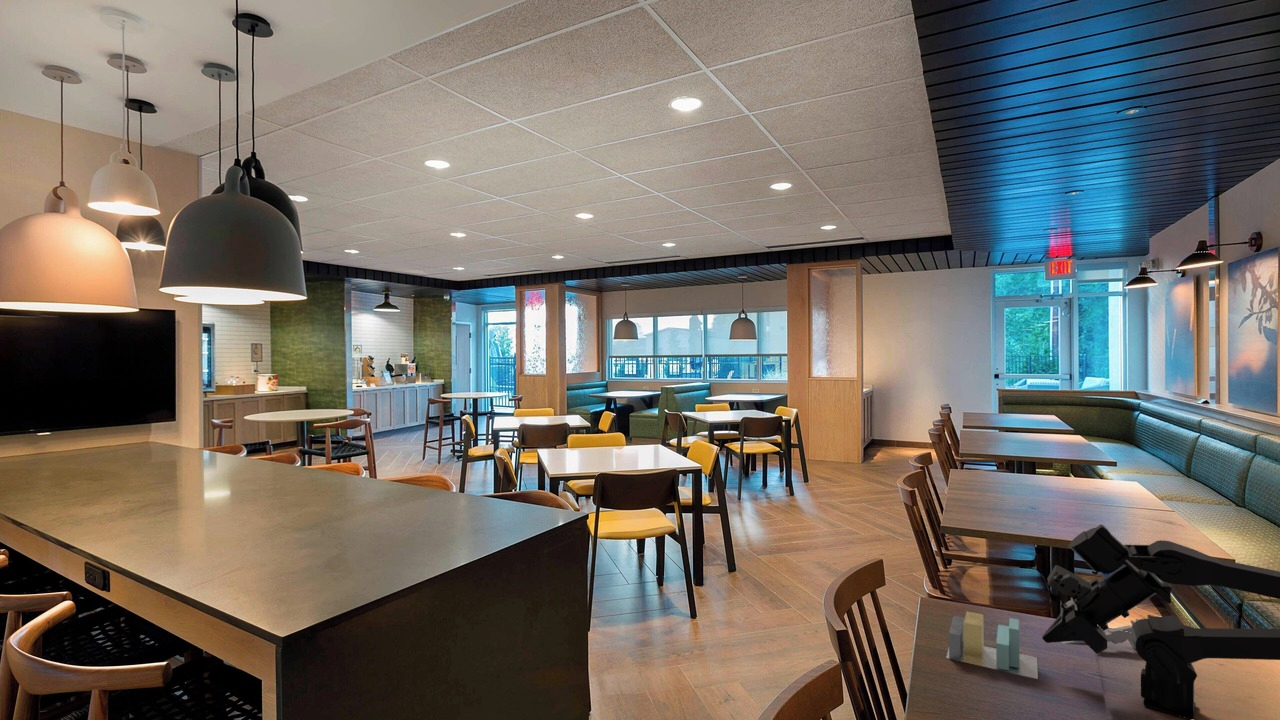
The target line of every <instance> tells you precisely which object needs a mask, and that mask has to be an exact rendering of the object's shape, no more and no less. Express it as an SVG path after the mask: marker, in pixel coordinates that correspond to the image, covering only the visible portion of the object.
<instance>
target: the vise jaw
mask: <svg viewBox="0 0 1280 720" xmlns="http://www.w3.org/2000/svg"><path fill="white" fill-rule="evenodd" d="M1008 619H1009V621H1008V622H1009V623H1008V625H1005V624H1004V625H1003V624H998V625H997V633H996V643H995V645H996V647H995V648H996V667H997V668H999V669H1004V670H1008V671H1009V666H1012V667H1016V668H1019V654H1020V619H1016V618H1011V617H1009V618H1008Z"/></svg>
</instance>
